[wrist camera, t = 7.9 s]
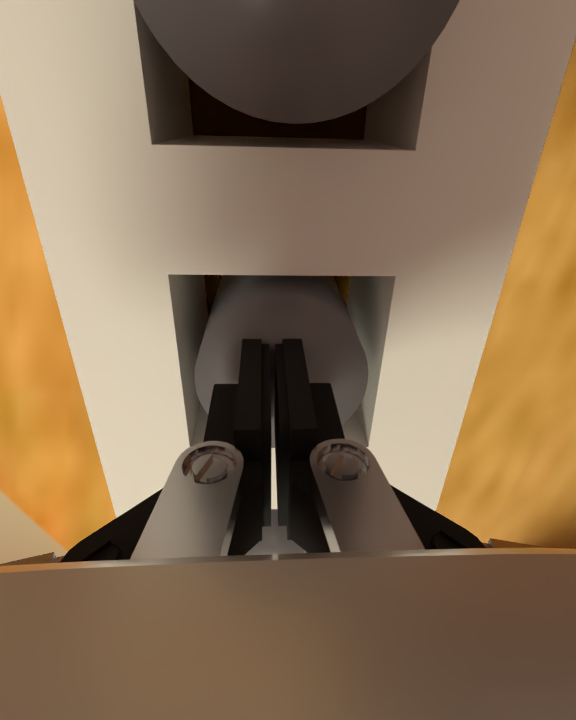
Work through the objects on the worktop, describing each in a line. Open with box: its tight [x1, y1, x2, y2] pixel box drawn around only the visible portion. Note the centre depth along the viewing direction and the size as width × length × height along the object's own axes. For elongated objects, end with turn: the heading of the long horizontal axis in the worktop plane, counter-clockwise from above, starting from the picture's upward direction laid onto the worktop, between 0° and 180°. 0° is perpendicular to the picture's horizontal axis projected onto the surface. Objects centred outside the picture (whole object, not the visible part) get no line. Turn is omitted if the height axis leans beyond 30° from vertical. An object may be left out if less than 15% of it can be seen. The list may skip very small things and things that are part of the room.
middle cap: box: [194, 275, 368, 448], centre depth 14 cm, size 5×5×6 cm
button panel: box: [0, 0, 576, 518], centre depth 15 cm, size 12×26×6 cm, turn 179°
